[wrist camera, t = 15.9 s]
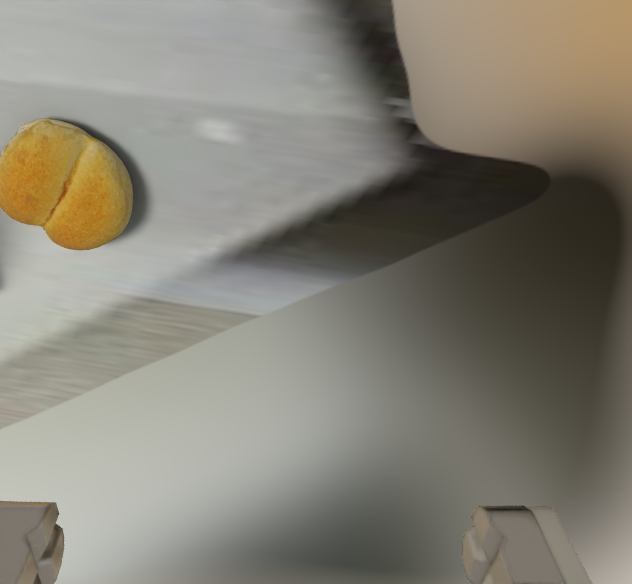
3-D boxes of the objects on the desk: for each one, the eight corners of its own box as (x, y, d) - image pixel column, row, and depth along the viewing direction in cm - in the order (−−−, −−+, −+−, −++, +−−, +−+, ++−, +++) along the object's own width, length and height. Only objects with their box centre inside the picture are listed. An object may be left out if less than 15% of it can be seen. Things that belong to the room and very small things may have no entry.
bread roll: (101, 256, 42) (86, 284, 38) (-15, 184, 38) (-43, 208, 35) (162, 177, 39) (151, 200, 35) (42, 91, 35) (17, 107, 32)
